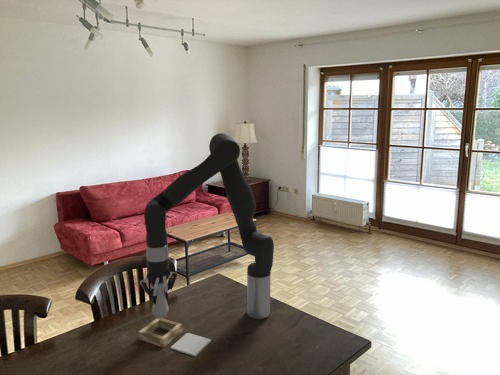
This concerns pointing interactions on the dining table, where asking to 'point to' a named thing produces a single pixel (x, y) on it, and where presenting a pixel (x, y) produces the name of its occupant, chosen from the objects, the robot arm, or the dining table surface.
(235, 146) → the robot arm
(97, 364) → the dining table surface
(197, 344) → the felt pad
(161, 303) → the salt shaker
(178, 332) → the oak collar
